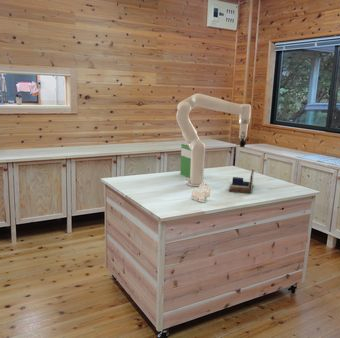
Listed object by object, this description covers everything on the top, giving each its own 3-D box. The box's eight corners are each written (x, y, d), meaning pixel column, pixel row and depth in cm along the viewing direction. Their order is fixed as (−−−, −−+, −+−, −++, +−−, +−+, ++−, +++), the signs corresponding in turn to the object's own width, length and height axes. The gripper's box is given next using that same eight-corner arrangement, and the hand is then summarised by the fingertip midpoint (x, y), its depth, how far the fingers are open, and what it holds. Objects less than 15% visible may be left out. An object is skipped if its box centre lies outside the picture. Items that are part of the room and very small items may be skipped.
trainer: (231, 186, 260) (231, 178, 259) (232, 185, 265) (232, 176, 263) (248, 188, 257) (249, 180, 256) (249, 186, 262) (250, 178, 261)
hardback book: (180, 173, 303) (181, 144, 298) (188, 172, 307) (189, 143, 301) (192, 178, 288) (193, 147, 283) (200, 177, 292) (201, 147, 287)
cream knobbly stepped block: (208, 204, 232) (214, 188, 233) (202, 202, 228) (208, 185, 229) (195, 199, 241) (201, 183, 242) (188, 197, 237) (194, 181, 238)
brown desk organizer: (229, 191, 255) (230, 174, 253) (233, 183, 278) (234, 167, 275) (250, 193, 252) (252, 176, 249) (252, 185, 275) (253, 168, 272)
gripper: (240, 120, 275) (238, 143, 279) (237, 122, 259) (236, 147, 262) (250, 121, 273) (248, 144, 277) (249, 123, 257) (247, 148, 261)
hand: (242, 145), depth 270 cm, fingers open, 9 cm apart
